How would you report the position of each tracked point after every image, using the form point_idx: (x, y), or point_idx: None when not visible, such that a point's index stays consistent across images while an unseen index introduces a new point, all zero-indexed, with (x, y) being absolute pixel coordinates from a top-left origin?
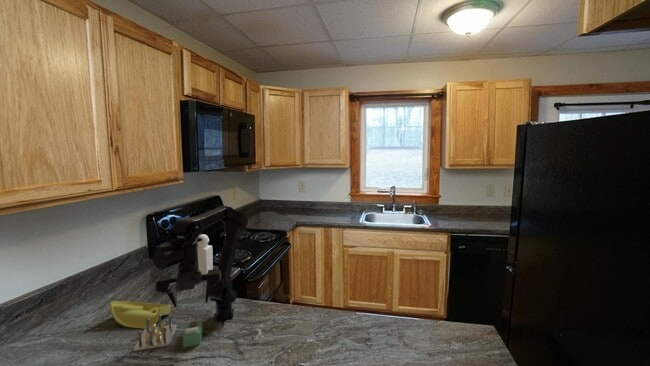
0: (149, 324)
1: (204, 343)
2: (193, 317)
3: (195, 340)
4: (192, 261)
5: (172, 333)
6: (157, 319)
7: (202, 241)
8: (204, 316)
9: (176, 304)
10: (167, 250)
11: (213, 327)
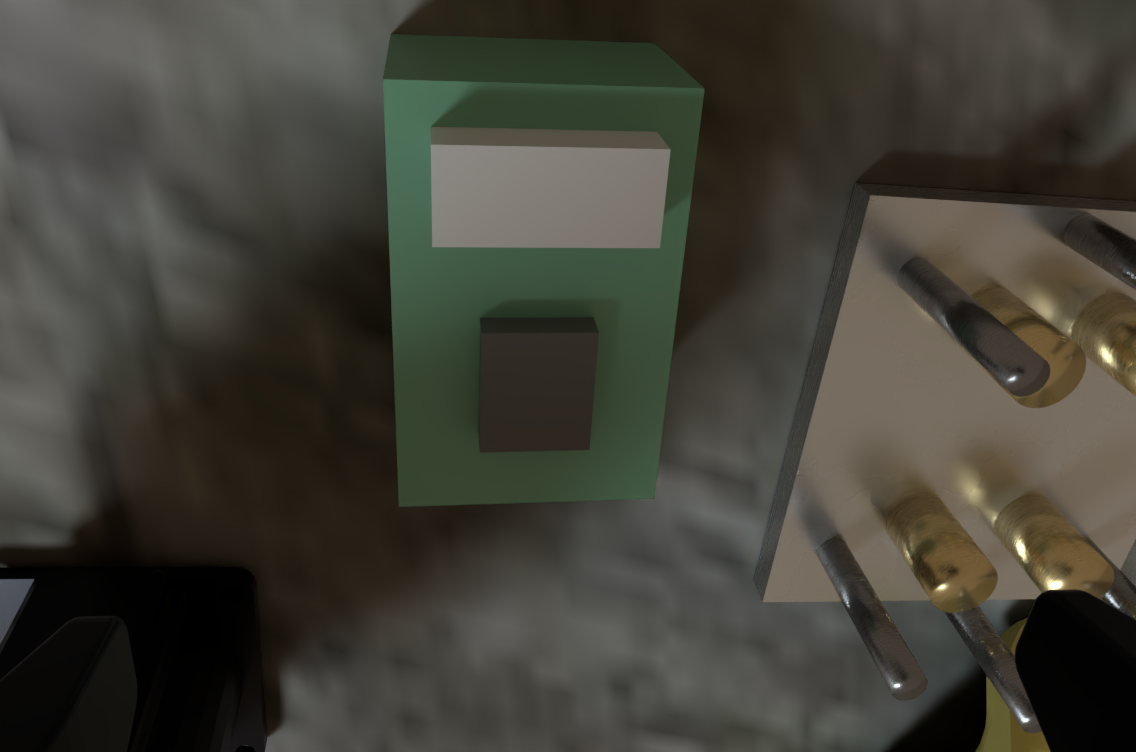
0: None
1: (324, 31)
2: (558, 704)
3: (469, 54)
4: None
5: (813, 415)
6: (996, 705)
7: None
8: (418, 696)
9: (1065, 679)
10: None
11: (245, 426)
